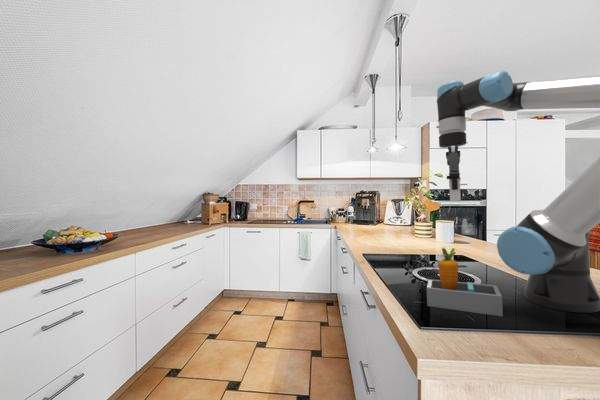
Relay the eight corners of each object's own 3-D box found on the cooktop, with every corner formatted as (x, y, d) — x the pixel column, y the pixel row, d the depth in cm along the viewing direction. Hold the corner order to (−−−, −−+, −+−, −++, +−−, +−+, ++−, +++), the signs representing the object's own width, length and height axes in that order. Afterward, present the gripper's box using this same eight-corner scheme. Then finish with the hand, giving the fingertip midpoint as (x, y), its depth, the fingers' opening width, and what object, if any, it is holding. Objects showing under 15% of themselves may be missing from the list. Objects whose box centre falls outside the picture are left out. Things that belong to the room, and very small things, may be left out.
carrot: (456, 296, 78) (454, 245, 78) (462, 303, 73) (459, 248, 73) (438, 296, 80) (435, 245, 79) (442, 302, 75) (439, 248, 75)
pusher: (472, 298, 76) (472, 282, 76) (474, 306, 71) (473, 289, 71) (467, 297, 77) (467, 282, 77) (469, 305, 72) (468, 288, 72)
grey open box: (497, 303, 75) (496, 285, 75) (502, 316, 67) (502, 296, 67) (429, 295, 83) (428, 279, 83) (427, 306, 75) (426, 288, 75)
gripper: (440, 141, 98) (442, 199, 98) (437, 127, 76) (440, 202, 77) (464, 138, 95) (466, 199, 95) (468, 122, 73) (471, 201, 73)
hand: (455, 200), depth 86 cm, fingers open, 13 cm apart
